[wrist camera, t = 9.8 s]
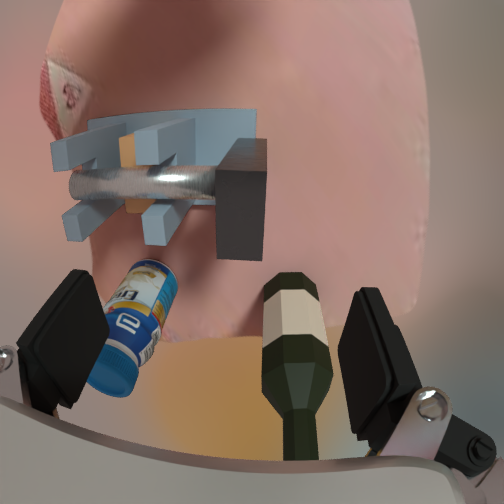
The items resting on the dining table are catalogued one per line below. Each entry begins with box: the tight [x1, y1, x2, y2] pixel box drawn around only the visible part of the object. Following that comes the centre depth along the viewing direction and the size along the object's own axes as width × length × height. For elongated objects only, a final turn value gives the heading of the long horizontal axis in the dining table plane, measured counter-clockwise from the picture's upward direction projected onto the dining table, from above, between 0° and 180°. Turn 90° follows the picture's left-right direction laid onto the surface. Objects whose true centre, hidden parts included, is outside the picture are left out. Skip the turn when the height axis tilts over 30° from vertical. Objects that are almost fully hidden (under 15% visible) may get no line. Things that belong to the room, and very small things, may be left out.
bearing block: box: [50, 109, 257, 246], centre depth 29 cm, size 22×12×14 cm, turn 88°
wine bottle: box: [261, 272, 333, 461], centre depth 31 cm, size 8×8×30 cm
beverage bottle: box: [86, 259, 178, 398], centre depth 36 cm, size 8×8×20 cm
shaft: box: [69, 138, 267, 261], centre depth 25 cm, size 18×6×14 cm, turn 88°
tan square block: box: [119, 133, 158, 213], centre depth 30 cm, size 4×8×8 cm, turn 178°
